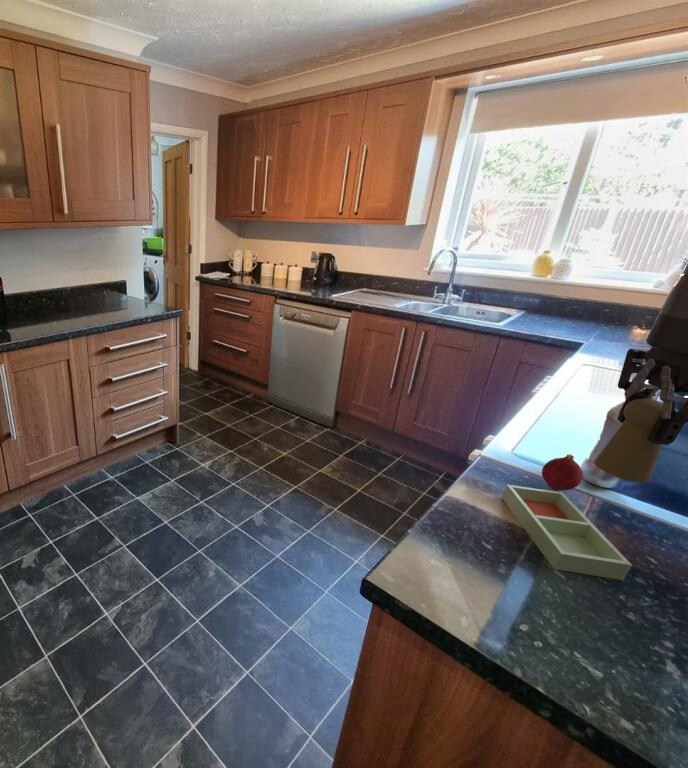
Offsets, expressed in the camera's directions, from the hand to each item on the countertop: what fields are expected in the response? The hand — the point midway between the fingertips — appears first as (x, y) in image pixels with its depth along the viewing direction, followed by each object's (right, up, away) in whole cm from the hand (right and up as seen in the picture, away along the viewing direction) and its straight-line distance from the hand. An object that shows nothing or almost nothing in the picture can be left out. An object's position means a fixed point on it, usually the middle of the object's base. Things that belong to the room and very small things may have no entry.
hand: (641, 431), depth 60 cm
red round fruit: (+8, -14, +23) cm, 29 cm away
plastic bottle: (+19, -13, +26) cm, 35 cm away
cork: (0, -6, +3) cm, 7 cm away
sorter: (-2, -19, +12) cm, 22 cm away
